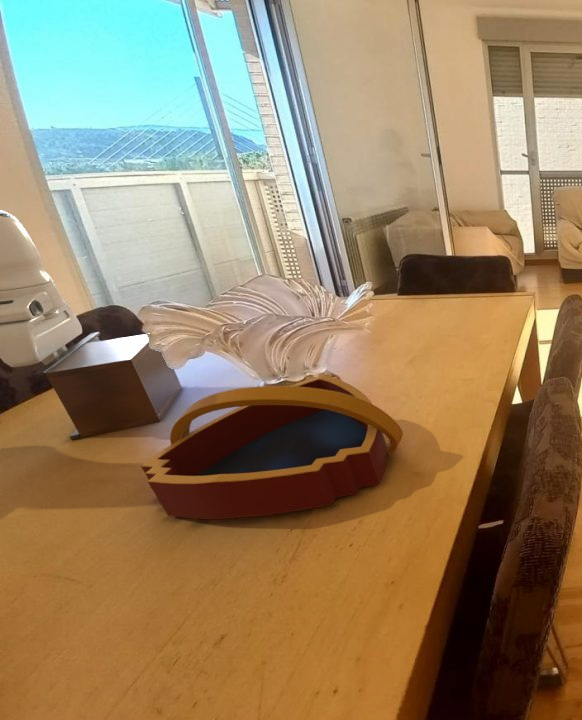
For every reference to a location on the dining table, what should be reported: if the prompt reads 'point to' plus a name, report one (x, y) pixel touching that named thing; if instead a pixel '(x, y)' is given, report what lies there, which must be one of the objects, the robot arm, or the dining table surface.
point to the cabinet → (112, 384)
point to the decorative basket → (273, 451)
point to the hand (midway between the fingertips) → (62, 371)
